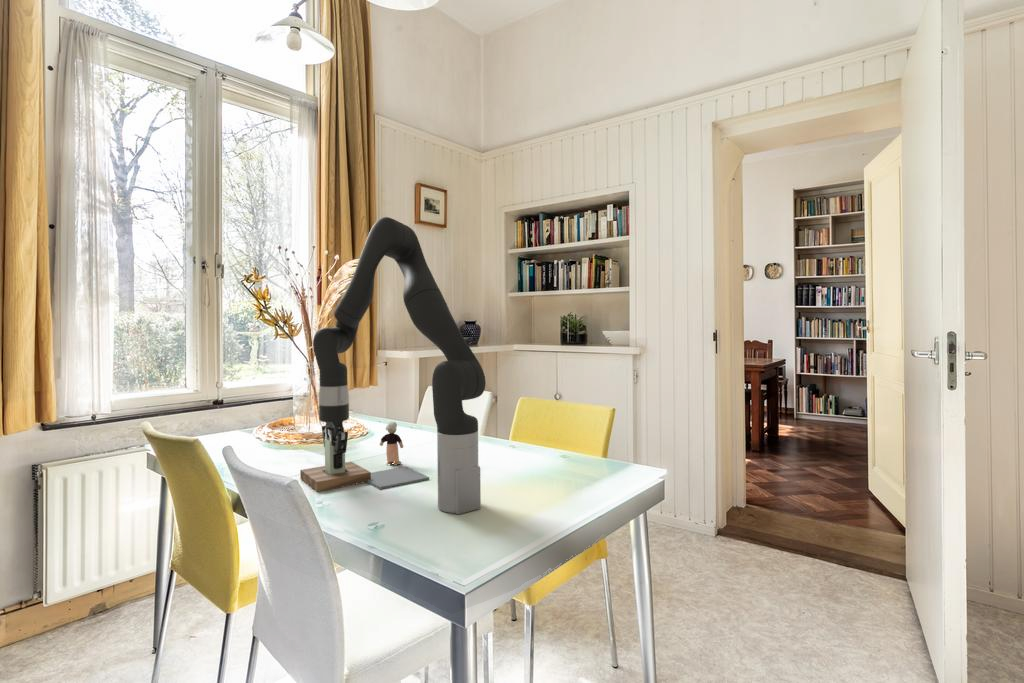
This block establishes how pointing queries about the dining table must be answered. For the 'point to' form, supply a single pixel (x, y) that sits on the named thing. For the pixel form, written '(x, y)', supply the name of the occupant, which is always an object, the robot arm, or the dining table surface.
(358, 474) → the walnut pocket block
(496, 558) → the dining table surface
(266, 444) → the dining table surface
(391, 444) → the grandmother figurine
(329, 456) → the sage peg
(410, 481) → the slate mat
